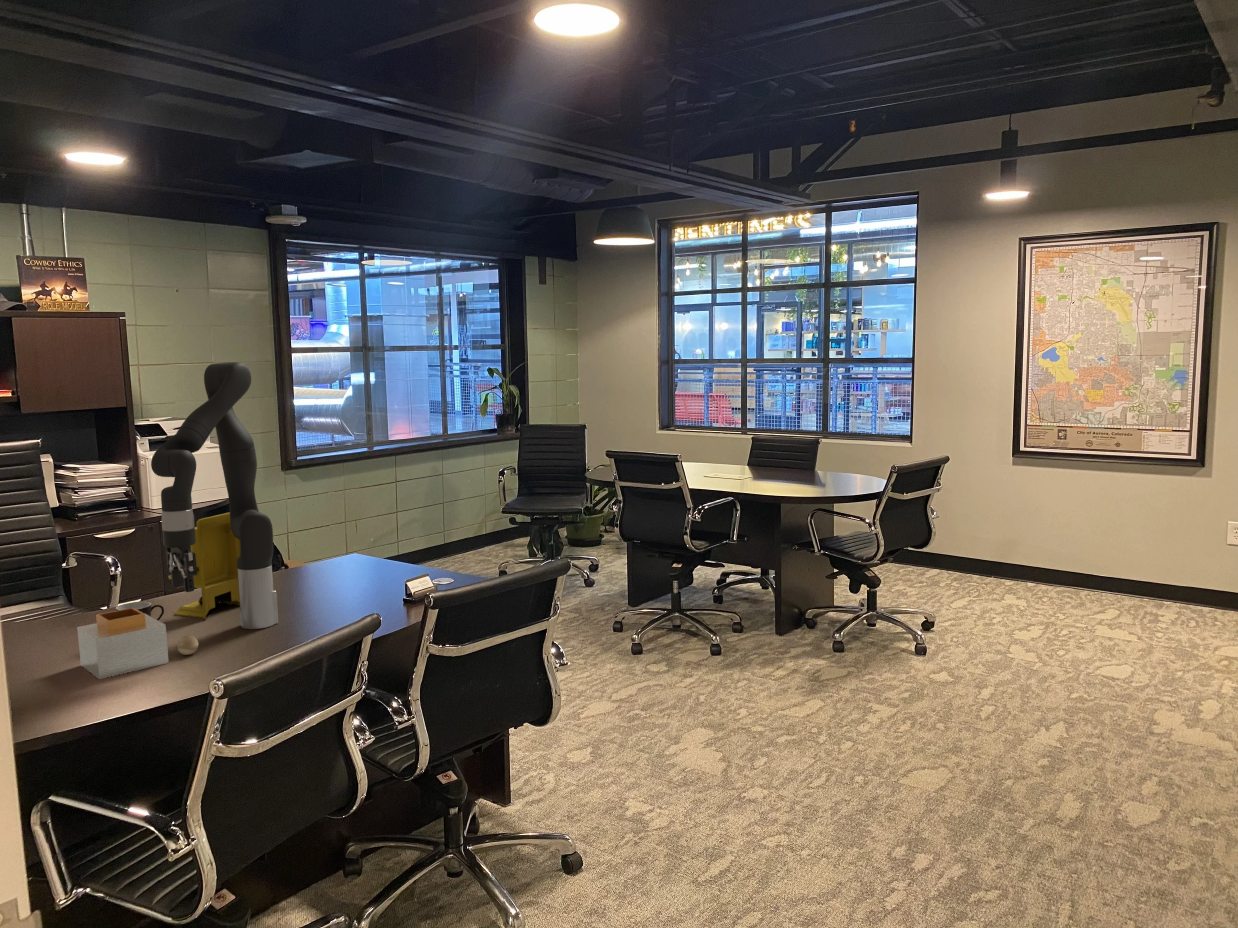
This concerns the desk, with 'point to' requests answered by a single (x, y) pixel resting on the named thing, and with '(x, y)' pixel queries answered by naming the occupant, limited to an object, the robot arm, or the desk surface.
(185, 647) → the wooden ball
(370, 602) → the desk surface
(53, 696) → the desk surface
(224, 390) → the robot arm
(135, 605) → the coffee mug
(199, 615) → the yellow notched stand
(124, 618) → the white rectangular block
